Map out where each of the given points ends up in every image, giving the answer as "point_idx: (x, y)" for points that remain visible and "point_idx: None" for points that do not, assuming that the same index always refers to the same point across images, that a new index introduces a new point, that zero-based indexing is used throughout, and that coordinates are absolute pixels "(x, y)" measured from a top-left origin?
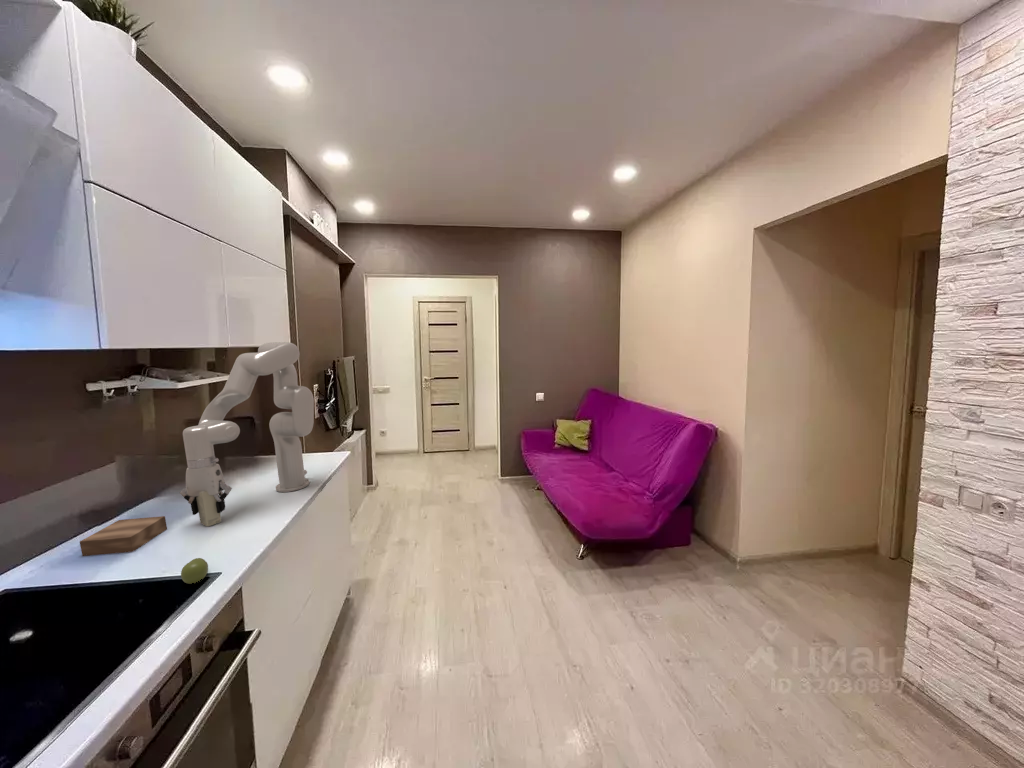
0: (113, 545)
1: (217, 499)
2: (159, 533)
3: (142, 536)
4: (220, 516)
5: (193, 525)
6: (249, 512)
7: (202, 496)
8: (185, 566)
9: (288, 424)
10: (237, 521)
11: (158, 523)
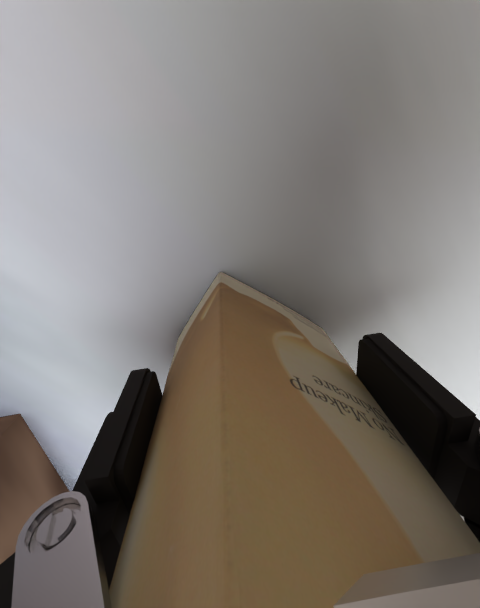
0: None
1: (477, 537)
2: (46, 462)
3: None
4: (336, 348)
5: (156, 368)
6: (452, 164)
7: None
8: None
9: None
10: (422, 313)
11: (2, 527)
